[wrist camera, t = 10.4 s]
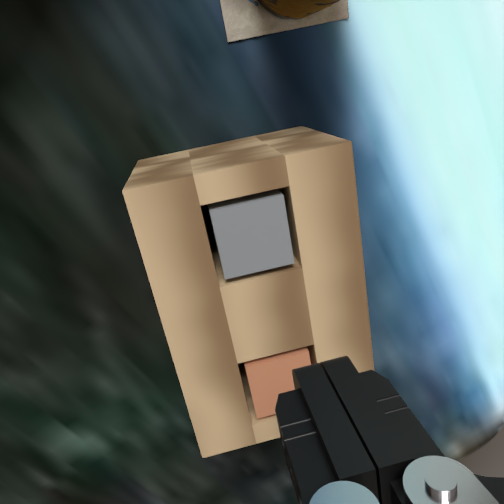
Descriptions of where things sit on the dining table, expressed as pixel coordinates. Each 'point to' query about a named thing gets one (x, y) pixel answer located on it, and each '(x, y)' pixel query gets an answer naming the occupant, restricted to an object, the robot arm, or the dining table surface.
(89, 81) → the dining table surface
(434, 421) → the dining table surface
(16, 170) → the dining table surface
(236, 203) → the peg grey
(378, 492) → the robot arm
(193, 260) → the oak block
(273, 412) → the peg terracotta
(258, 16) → the condiment
